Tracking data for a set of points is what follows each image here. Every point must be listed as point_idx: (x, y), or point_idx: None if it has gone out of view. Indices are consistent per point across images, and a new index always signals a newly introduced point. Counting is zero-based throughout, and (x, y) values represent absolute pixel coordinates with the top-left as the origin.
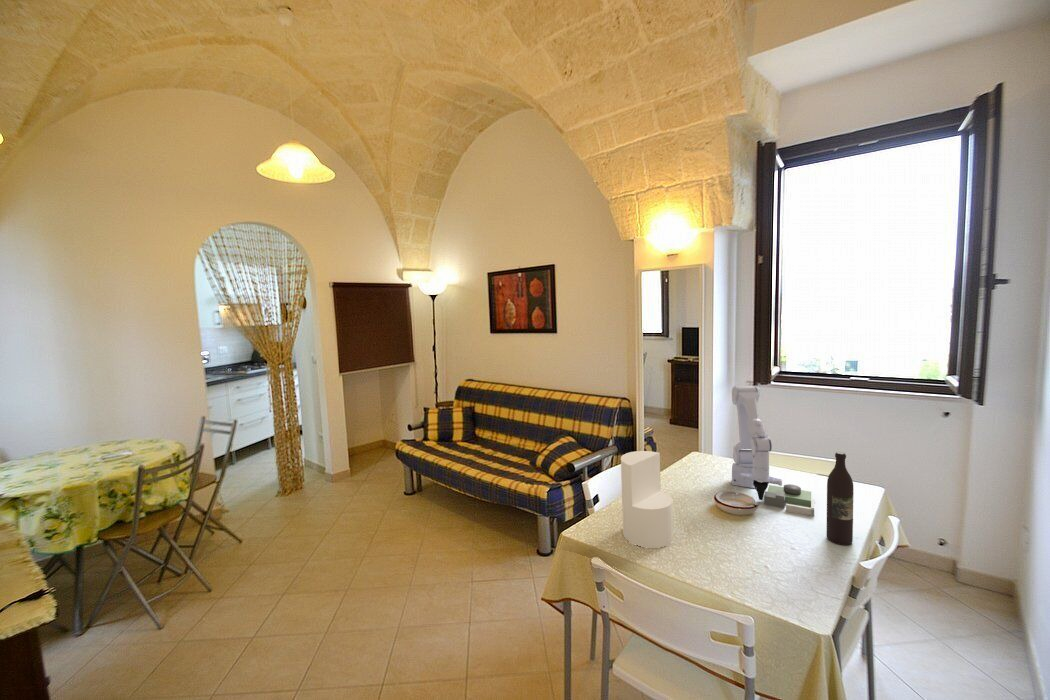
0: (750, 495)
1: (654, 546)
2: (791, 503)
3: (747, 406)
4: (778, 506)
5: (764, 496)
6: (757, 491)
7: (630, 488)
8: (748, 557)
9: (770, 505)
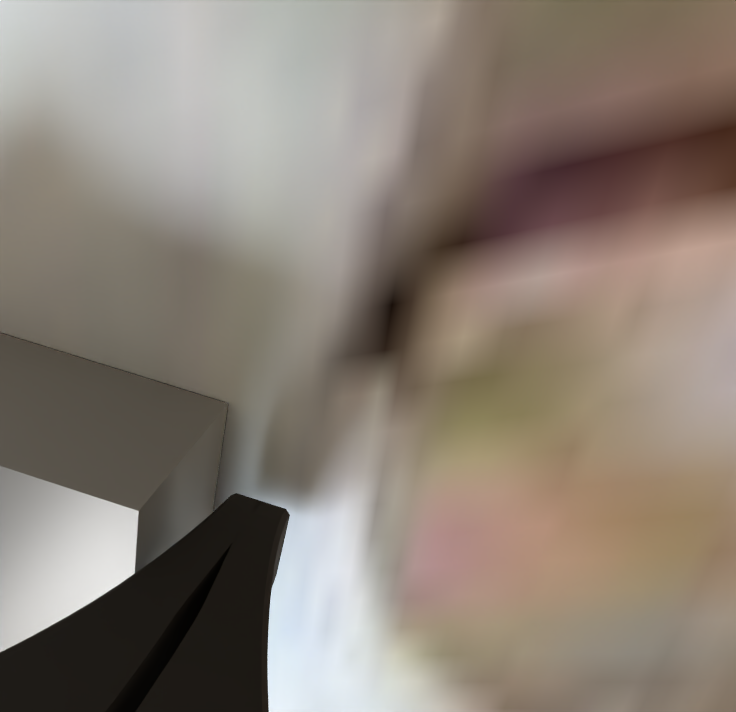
0: (402, 676)
1: None
2: None
3: None
4: (7, 343)
5: (137, 501)
6: (251, 649)
7: None
8: None
9: (130, 373)
